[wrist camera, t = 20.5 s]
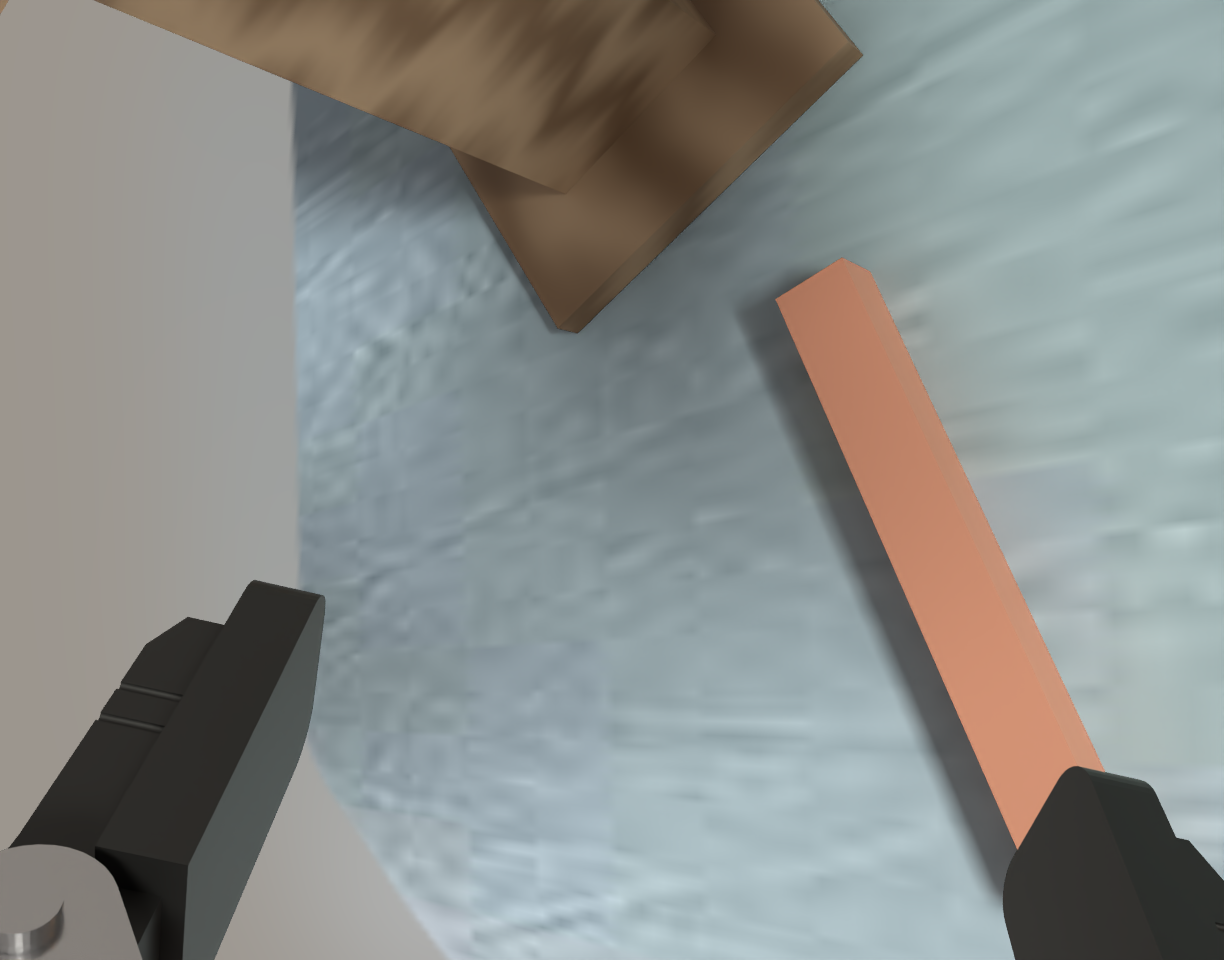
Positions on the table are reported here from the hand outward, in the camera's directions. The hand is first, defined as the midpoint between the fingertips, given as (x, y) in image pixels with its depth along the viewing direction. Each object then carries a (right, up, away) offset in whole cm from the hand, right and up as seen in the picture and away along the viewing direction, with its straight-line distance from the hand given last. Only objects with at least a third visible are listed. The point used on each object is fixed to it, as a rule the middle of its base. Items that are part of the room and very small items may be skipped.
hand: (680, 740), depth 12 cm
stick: (+13, -1, +33) cm, 36 cm away
